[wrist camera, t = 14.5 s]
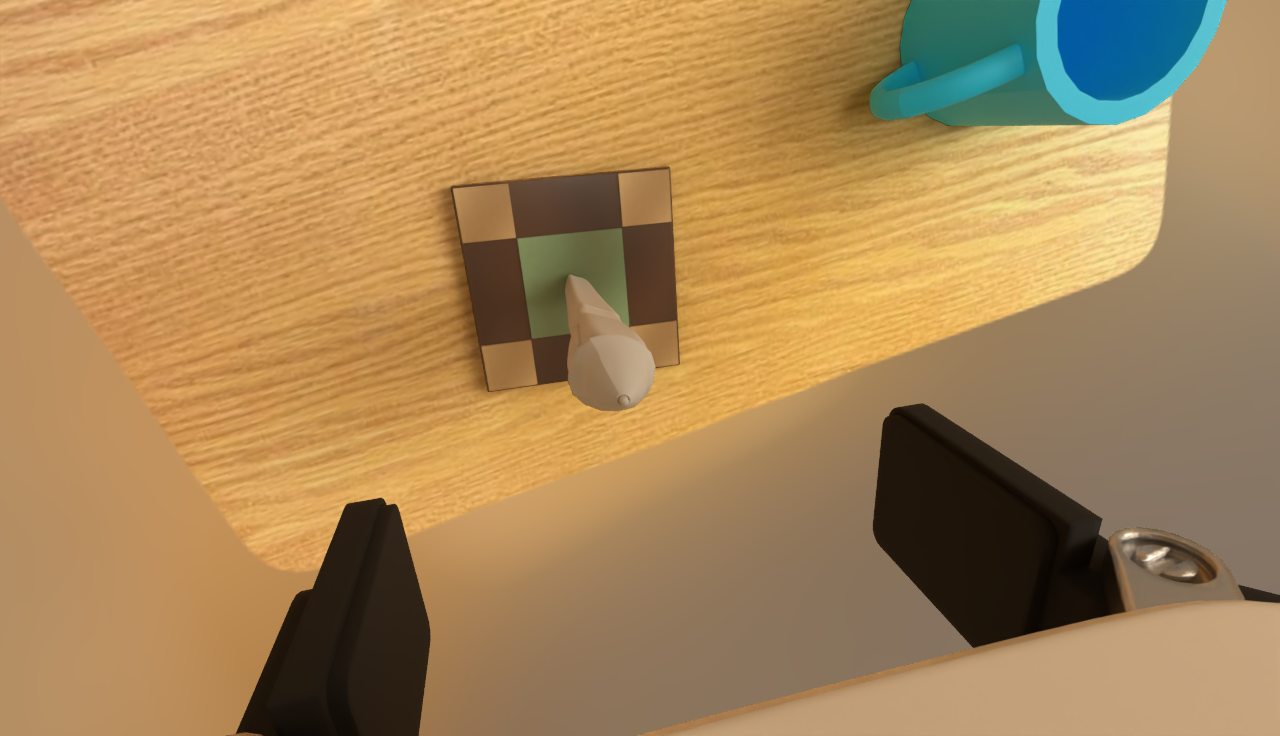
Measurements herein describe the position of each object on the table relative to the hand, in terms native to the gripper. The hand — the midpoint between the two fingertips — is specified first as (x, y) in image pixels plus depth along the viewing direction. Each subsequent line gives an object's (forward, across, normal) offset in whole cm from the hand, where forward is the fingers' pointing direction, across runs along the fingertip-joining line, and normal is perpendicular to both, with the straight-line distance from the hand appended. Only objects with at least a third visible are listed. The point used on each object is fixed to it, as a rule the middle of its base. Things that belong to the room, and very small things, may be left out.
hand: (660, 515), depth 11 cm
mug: (+20, -20, -9) cm, 29 cm away
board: (+20, -1, 0) cm, 20 cm away
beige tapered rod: (+20, -1, 0) cm, 20 cm away
